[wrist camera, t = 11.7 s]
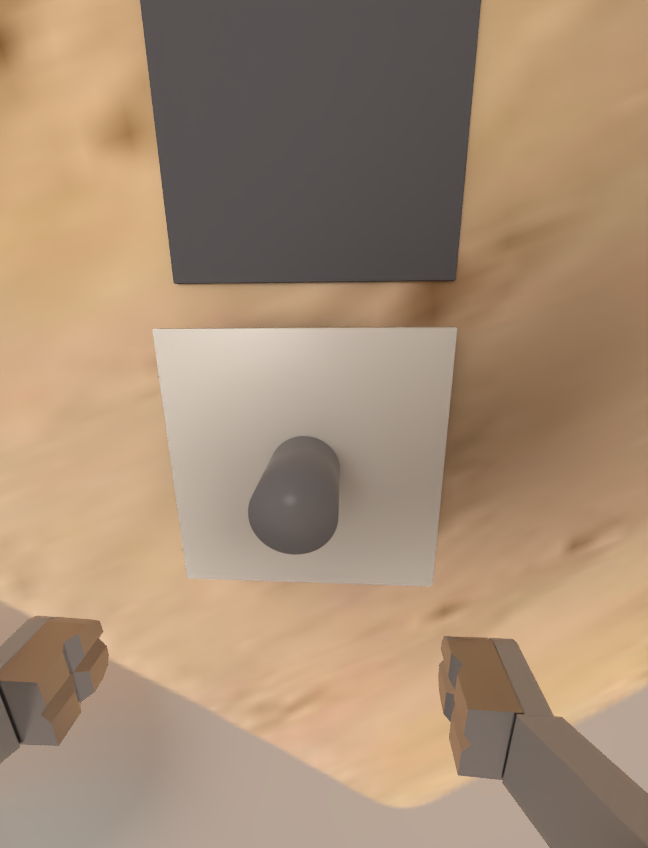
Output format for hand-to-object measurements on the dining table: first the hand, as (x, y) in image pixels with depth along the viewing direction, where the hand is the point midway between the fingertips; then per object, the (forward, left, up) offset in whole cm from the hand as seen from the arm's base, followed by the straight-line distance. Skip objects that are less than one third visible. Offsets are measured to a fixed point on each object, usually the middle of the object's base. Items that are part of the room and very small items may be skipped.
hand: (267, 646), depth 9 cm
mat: (0, -18, -17) cm, 25 cm away
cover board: (0, 0, -11) cm, 11 cm away
